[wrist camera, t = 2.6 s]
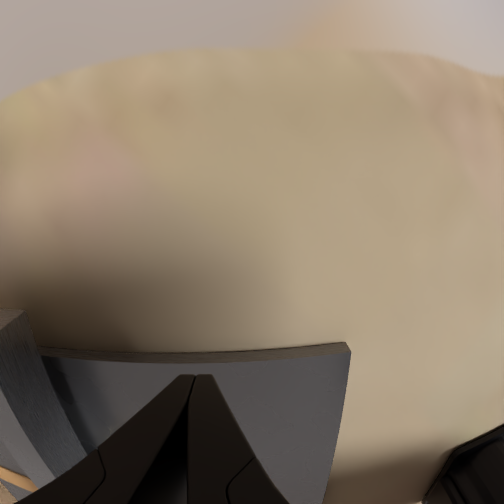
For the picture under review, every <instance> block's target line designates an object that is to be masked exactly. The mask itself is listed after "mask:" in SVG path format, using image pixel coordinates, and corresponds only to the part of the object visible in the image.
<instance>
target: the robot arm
mask: <svg viewBox="0 0 504 504" xmlns="http://www.w3.org/2000/svg"><path fill="white" fill-rule="evenodd" d="M97 449H98V450H97ZM97 449H94V450H93V451H92V452H91V453H89V454H88V455H87V456H86V457H85V458H83V459H82V460H81V461H80V462H78V463H77V464H76V465H74V466H73V467H72V468H71V469H69V470H68V471H66V472H65V473H63V474H62V475H60V476H59V477H57V478H56V479H54V480H53V481H51V482H49V483H48V484H46V485H45V486H43V487H41V488H40V489H38V490H36V491H35V492H33V493H31V494H30V495H28V496H26V497H24V498H23V499H21V500H19V501H18V502H16V503H14V504H290V503H289V502H288V500H287V499H286V498H285V497H284V496H283V494H282V493H281V492H280V491H279V490H278V488H277V487H276V486H275V484H274V483H273V482H272V480H271V479H270V477H269V476H268V474H267V473H266V471H265V470H264V468H263V466H262V464H261V463H260V461H259V459H258V458H257V457H256V455H255V453H254V451H253V449H252V448H251V446H250V444H249V442H248V441H247V439H246V437H245V435H244V433H243V432H242V430H241V428H240V426H239V424H238V422H237V421H236V419H235V417H234V415H233V413H232V411H231V409H230V407H229V405H228V404H227V402H226V400H225V398H224V396H223V394H222V392H221V390H220V388H219V386H218V384H217V382H216V380H215V378H214V376H213V375H212V374H197V375H194V374H180V375H178V376H177V377H176V378H175V379H174V380H173V381H172V382H171V383H170V384H168V385H167V386H166V387H165V388H164V389H163V390H162V391H161V392H160V393H158V394H157V395H156V396H155V397H154V398H153V399H152V400H151V401H150V402H148V403H147V404H146V405H145V406H144V407H143V408H142V409H141V410H139V411H138V412H137V413H136V414H135V415H134V416H133V417H132V418H130V419H129V420H128V421H127V422H126V423H125V424H124V425H122V426H121V427H120V428H119V429H118V430H117V431H115V432H114V433H113V434H112V435H111V436H110V437H109V438H107V439H106V440H105V441H104V442H103V443H101V444H100V445H99V446H98V447H97ZM421 503H422V504H504V427H502V428H500V429H498V430H496V431H494V432H492V433H490V434H488V435H486V436H484V437H482V438H480V439H478V440H476V441H474V442H472V443H470V444H468V445H465V446H463V447H461V448H459V449H457V450H456V451H454V452H453V453H452V455H451V456H450V458H449V460H448V461H447V463H446V465H445V466H444V468H443V470H442V471H441V473H440V475H439V476H438V478H437V479H436V481H435V482H434V484H433V485H432V487H431V488H430V490H429V491H428V493H427V494H426V496H425V497H424V499H423V500H422V502H421Z"/></svg>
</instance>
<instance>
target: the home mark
mask: <svg viewBox="0 0 504 504" xmlns="http://www.w3.org/2000/svg"><path fill="white" fill-rule="evenodd" d="M0 478H1V479H3V480H5V481H7V482H10V483H12V484H14V485H16V486H19V487H21V488H23V489H26V490H28V491H31V492H35V491H36V490H38V488H37V487H36V486H35V484H34V483H33V482H32V481H31V479H30V478H28V477H25V476H23V475H20V474H18V473H15V472H13V471H10V470H8V469H6V468H4V467H1V466H0Z"/></svg>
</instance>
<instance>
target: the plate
mask: <svg viewBox="0 0 504 504" xmlns="http://www.w3.org/2000/svg"><path fill="white" fill-rule="evenodd" d="M37 347H38V350H39V353H40V356H41V358H42V361H43V364H44V366H45V369H46V371H47V374H48V376H49V379H50V381H51V384H52V386H53V388H54V391H55V393H56V395H57V397H58V399H59V402H60V404H61V406H62V408H63V410H64V412H65V414H66V416H67V418H68V420H69V422H70V424H71V426H72V428H73V430H74V432H75V434H76V436H77V437H78V439H79V441H80V443H81V445H82V446H83V448H84V450H85V452H86V453H87V455H88V454H89V453H91V452H92V451H93V450H94V449H97V447H98V446H99V445H100V444H101V443H103V442H104V441H105V440H106V439H107V438H109V437H110V436H111V435H112V434H113V433H114V432H115V431H117V430H118V429H119V428H120V427H121V426H122V425H124V424H125V423H126V422H127V421H128V420H129V419H130V418H132V417H133V416H134V415H135V414H136V413H137V412H138V411H139V410H141V409H142V408H143V407H144V406H145V405H146V404H147V403H148V402H150V401H151V400H152V399H153V398H154V397H155V396H156V395H157V394H158V393H160V392H161V391H162V390H163V389H164V388H165V387H166V386H167V385H168V384H170V383H171V382H172V381H173V380H174V379H175V378H176V377H177V376H178V375H180V374H194V375H197V374H212V375H213V376H214V378H215V380H216V382H217V384H218V386H219V388H220V390H221V392H222V394H223V396H224V398H225V400H226V402H227V404H228V405H229V407H230V409H231V411H232V413H233V415H234V417H235V419H236V421H237V422H238V424H239V426H240V428H241V430H242V432H243V433H244V435H245V437H246V439H247V441H248V442H249V444H250V446H251V448H252V449H253V451H254V453H255V455H256V457H257V458H258V459H259V461H260V463H261V464H262V466H263V468H264V470H265V471H266V473H267V474H268V476H269V477H270V479H271V480H272V482H273V483H274V484H275V486H276V487H277V488H278V490H279V491H280V492H281V493H282V494H283V496H284V497H285V498H286V499H287V500H288V502H289V503H290V504H322V502H323V498H324V495H325V491H326V487H327V483H328V479H329V475H330V470H331V466H332V462H333V457H334V452H335V448H336V443H337V438H338V433H339V428H340V422H341V417H342V411H343V405H344V399H345V393H346V387H347V380H348V373H349V365H350V358H351V350H350V349H349V347H348V345H347V344H346V342H344V343H336V344H327V345H318V346H308V347H298V348H286V349H274V350H259V351H242V352H219V353H126V352H104V351H87V350H73V349H62V348H51V347H42V346H37ZM97 450H98V449H97ZM0 466H1V467H4V468H6V469H8V470H10V471H13V472H15V473H18V474H20V475H23V476H25V477H28V476H27V474H26V473H25V472H24V471H23V469H22V468H21V467H20V465H19V464H18V463H17V461H16V460H15V459H14V457H13V456H12V454H11V453H10V452H9V450H8V449H7V447H6V446H5V444H4V443H3V441H2V440H1V438H0ZM28 478H29V477H28ZM0 481H1V482H2V484H3V485H4V486H5V487H6V488H7V489H8V490H9V492H10V493H11V494H12V495H13V496H14V497H15V498H16V499H17V500H18V501H19V500H21V499H23V498H24V497H26V496H28V495H30V494H31V493H33V492H31V491H28V490H26V489H23V488H21V487H19V486H16V485H14V484H12V483H10V482H7V481H5V480H3V479H1V478H0Z"/></svg>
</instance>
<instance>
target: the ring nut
mask: <svg viewBox="0 0 504 504" xmlns="http://www.w3.org/2000/svg"><path fill="white" fill-rule="evenodd" d="M0 438H1V440H2V441H3V443H4V444H5V446H6V447H7V449H8V450H9V452H10V453H11V454H12V456H13V457H14V459H15V460H16V461H17V463H18V464H19V465H20V467H21V468H22V469H23V471H24V472H25V473H26V474H27V476H28V477H29V478H30V479H31V481H32V482H33V483H34V484H35V486H36V487H37V488H38V489H40V488H41V487H43V486H45V485H46V484H48V483H49V482H51V481H53V480H54V479H56V478H57V477H59V476H60V475H62V474H63V473H65V472H66V471H68V470H69V469H71V468H72V467H73V466H74V465H76V464H77V463H78V462H80V461H81V460H82V459H83V458H85V457H86V456H87V453H86V452H85V450H84V448H83V446H82V445H81V443H80V441H79V439H78V437H77V436H76V434H75V432H74V430H73V428H72V426H71V424H70V422H69V420H68V418H67V416H66V414H65V412H64V410H63V408H62V406H61V404H60V402H59V399H58V397H57V395H56V393H55V391H54V388H53V386H52V384H51V381H50V379H49V376H48V374H47V371H46V369H45V366H44V364H43V361H42V358H41V356H40V353H39V350H38V347H37V345H36V342H35V339H34V336H33V333H32V330H31V327H30V323H29V320H28V317H27V313H26V310H16V309H0Z"/></svg>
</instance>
